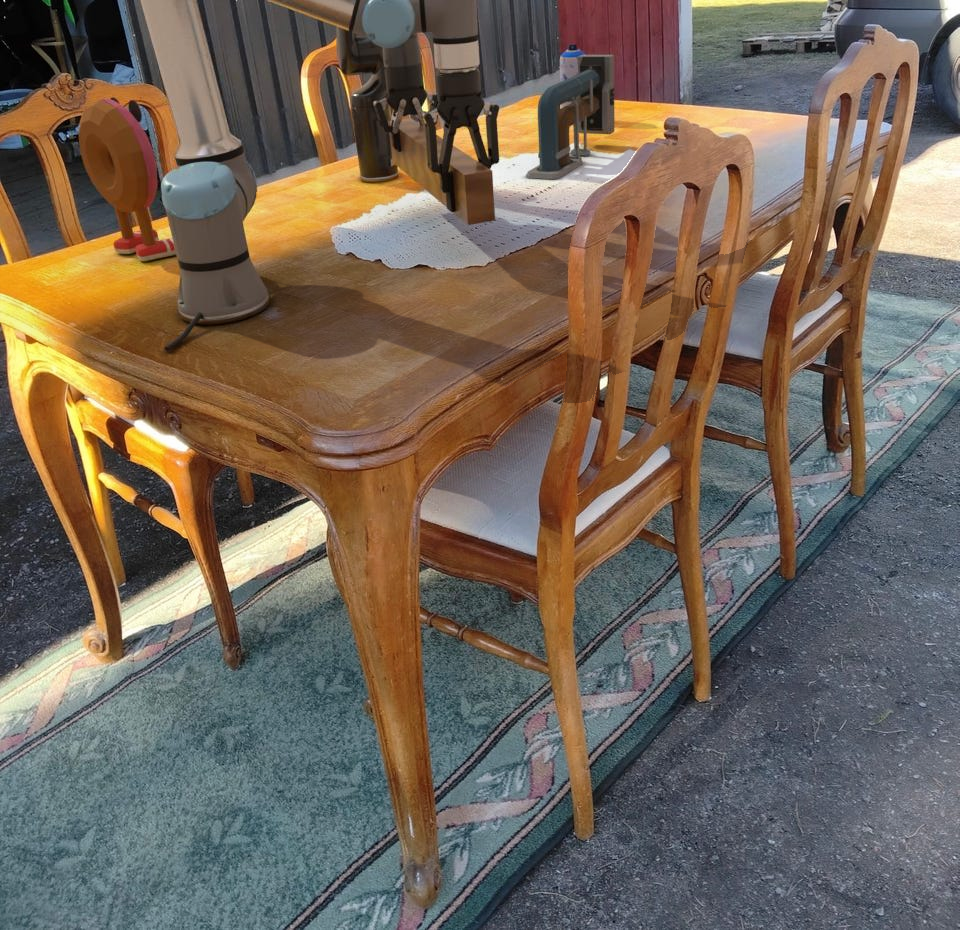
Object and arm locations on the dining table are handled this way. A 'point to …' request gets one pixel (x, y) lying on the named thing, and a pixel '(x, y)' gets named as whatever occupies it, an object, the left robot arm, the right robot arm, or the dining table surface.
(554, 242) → the dining table surface
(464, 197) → the beam
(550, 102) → the clamp
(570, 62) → the aerosol can
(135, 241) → the toy
